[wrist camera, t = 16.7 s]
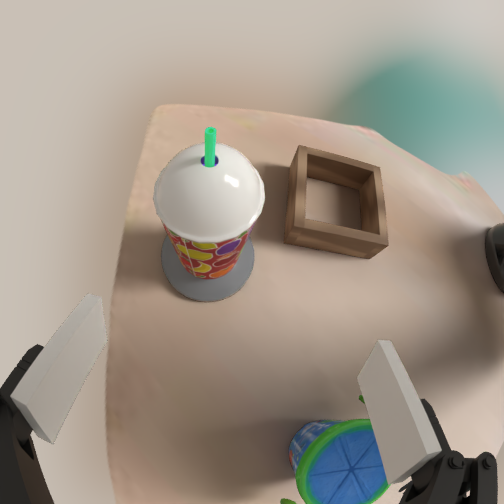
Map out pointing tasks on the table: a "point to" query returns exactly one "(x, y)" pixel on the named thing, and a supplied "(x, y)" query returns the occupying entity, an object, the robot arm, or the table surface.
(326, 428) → the snack cup
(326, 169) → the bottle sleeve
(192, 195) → the smoothie
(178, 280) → the slate coaster
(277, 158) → the table surface
